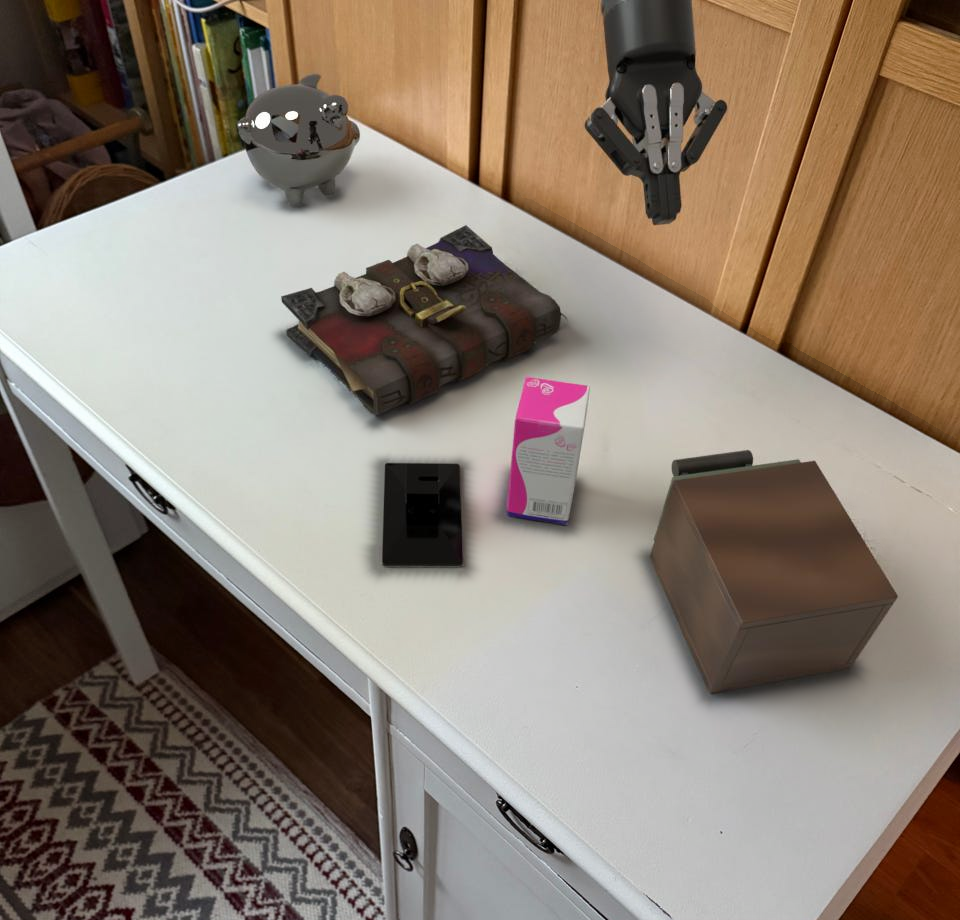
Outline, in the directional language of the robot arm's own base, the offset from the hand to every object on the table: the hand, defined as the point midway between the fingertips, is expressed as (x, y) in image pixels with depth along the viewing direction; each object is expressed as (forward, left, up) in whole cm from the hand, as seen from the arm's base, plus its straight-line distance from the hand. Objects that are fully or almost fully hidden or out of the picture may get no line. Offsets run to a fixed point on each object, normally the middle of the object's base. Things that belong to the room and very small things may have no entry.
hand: (665, 222), depth 84 cm
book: (+20, -10, -17) cm, 28 cm away
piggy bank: (+29, -41, -17) cm, 53 cm away
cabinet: (0, +31, -17) cm, 35 cm away
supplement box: (+14, +15, -17) cm, 27 cm away
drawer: (0, +27, -16) cm, 32 cm away
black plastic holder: (+25, +15, -17) cm, 34 cm away
